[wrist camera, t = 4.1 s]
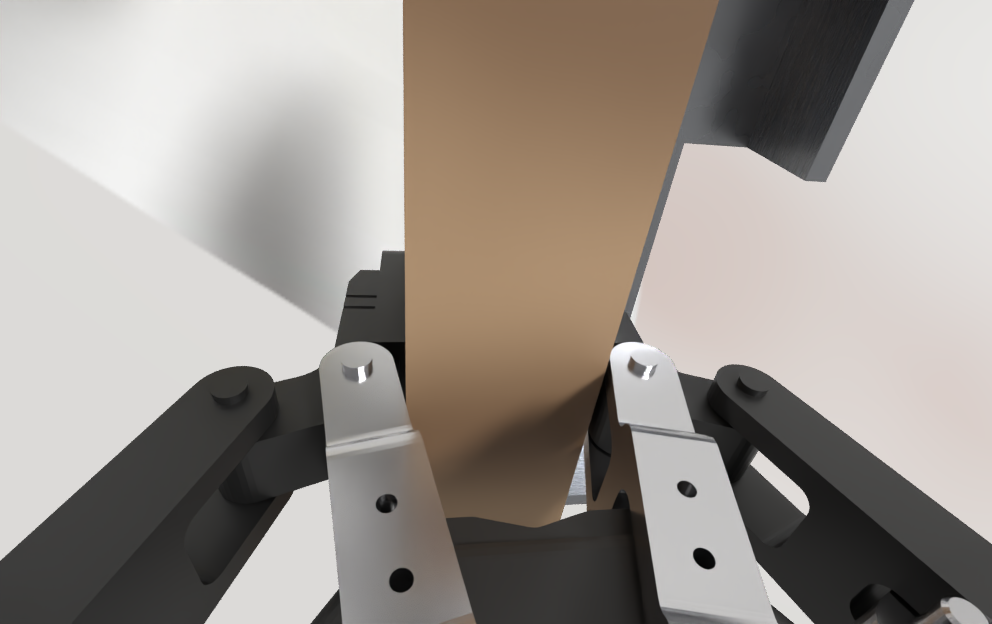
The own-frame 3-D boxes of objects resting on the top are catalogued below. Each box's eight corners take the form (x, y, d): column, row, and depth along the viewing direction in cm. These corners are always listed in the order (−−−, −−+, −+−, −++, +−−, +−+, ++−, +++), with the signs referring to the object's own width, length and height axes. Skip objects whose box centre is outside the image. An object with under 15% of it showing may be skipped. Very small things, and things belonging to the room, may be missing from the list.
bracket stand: (597, -66, 20) (699, -81, 13) (758, -44, 21) (937, -46, 14) (519, 390, 34) (545, 507, 27) (617, 389, 35) (669, 501, 28)
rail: (411, -313, 7) (398, -636, 3) (639, -267, 8) (870, -495, 4) (410, 501, 19) (407, 651, 15) (502, 497, 19) (523, 640, 15)
